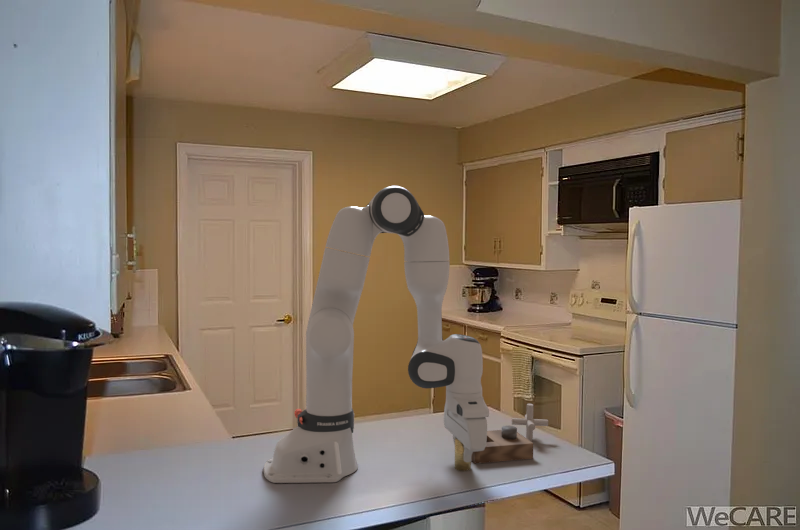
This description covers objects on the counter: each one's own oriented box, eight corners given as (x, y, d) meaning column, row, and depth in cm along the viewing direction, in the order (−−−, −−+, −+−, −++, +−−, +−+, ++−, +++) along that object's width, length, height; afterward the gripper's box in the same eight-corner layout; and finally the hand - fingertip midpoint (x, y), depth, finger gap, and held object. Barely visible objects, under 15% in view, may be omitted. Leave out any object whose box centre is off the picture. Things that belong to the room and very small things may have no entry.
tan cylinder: (457, 471, 145) (458, 442, 145) (452, 465, 149) (452, 437, 149) (473, 470, 146) (473, 441, 146) (467, 464, 150) (467, 436, 150)
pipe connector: (544, 434, 174) (545, 400, 174) (550, 446, 164) (550, 410, 164) (509, 433, 175) (510, 399, 175) (512, 444, 165) (513, 408, 165)
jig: (474, 463, 151) (475, 438, 151) (458, 447, 162) (458, 424, 162) (533, 458, 155) (533, 434, 155) (512, 443, 166) (513, 420, 166)
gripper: (438, 391, 156) (437, 444, 157) (466, 413, 137) (465, 473, 137) (461, 390, 158) (460, 442, 159) (492, 412, 138) (491, 471, 139)
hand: (462, 457), depth 148 cm, fingers closed on tan cylinder, 4 cm apart
